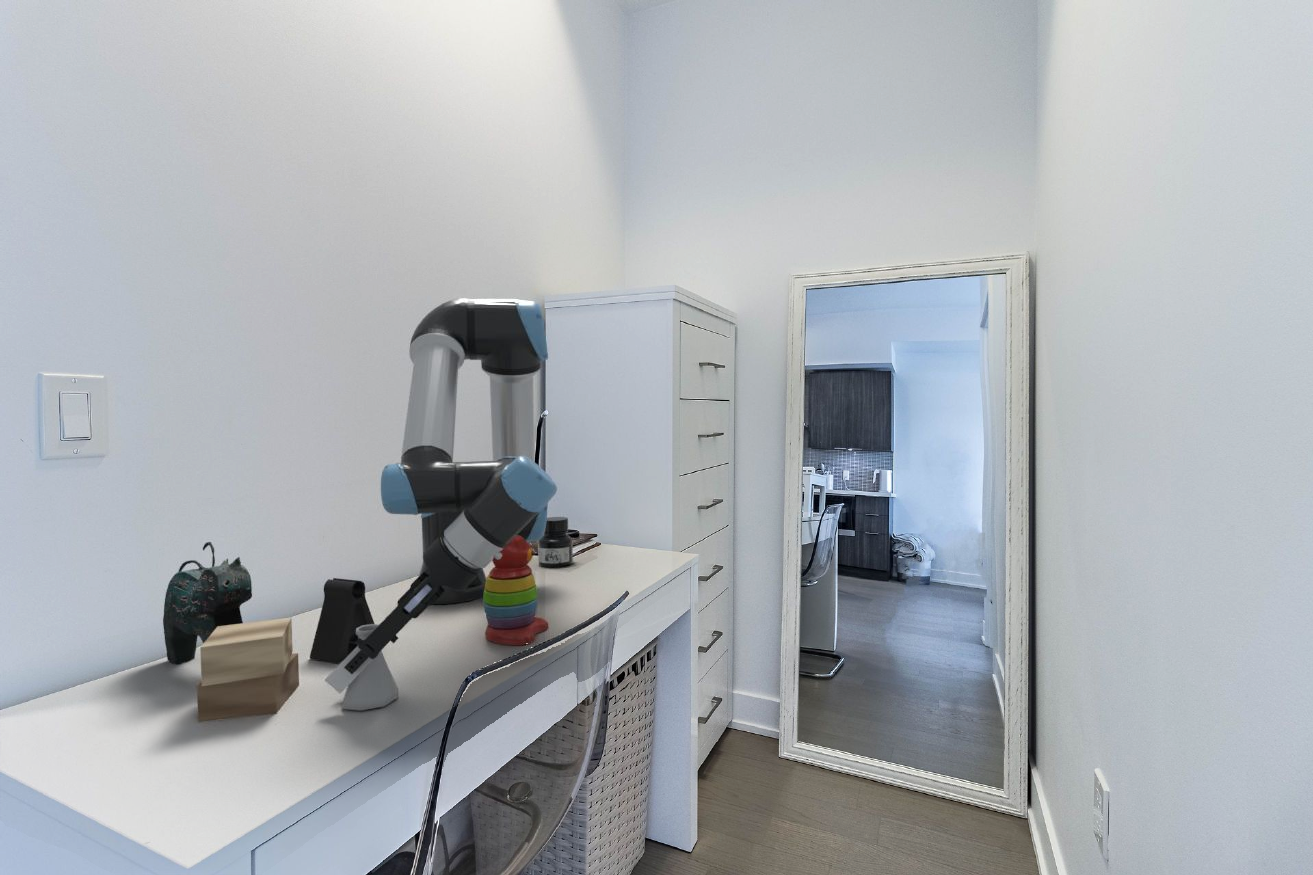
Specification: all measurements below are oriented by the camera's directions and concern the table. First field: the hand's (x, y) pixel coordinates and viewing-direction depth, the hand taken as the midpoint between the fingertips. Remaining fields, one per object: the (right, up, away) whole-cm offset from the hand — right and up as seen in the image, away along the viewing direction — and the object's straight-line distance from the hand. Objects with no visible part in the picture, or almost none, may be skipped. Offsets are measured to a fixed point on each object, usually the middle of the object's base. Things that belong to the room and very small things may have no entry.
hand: (340, 678), depth 85 cm
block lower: (-12, -4, +1) cm, 13 cm away
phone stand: (-9, -3, +19) cm, 21 cm away
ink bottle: (+16, -1, +80) cm, 82 cm away
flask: (+4, -3, 0) cm, 5 cm away
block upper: (-13, +1, +1) cm, 13 cm away
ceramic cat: (-28, -4, +13) cm, 31 cm away
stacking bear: (+17, -3, +26) cm, 32 cm away
